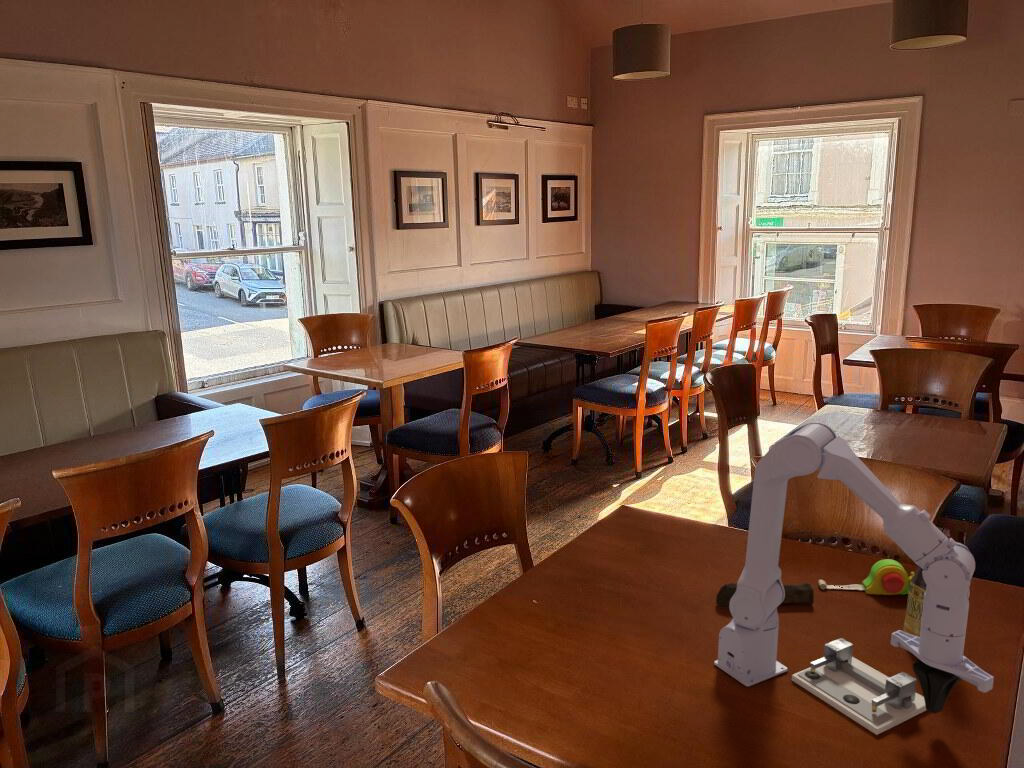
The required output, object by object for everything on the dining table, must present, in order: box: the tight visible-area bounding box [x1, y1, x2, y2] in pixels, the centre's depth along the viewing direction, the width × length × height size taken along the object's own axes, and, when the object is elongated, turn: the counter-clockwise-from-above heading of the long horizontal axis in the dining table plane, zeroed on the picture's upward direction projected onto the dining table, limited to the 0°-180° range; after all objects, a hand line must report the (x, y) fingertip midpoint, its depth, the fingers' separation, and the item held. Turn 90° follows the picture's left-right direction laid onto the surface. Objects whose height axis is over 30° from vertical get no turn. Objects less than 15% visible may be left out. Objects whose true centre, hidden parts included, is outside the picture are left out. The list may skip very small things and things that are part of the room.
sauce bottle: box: [902, 565, 927, 637], centre depth 137 cm, size 7×6×20 cm
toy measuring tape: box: [817, 558, 915, 596], centre depth 158 cm, size 6×19×7 cm, turn 81°
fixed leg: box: [809, 637, 854, 674], centre depth 130 cm, size 8×2×4 cm, turn 119°
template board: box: [791, 656, 927, 736], centre depth 125 cm, size 13×16×2 cm
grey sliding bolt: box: [871, 671, 918, 712], centre depth 120 cm, size 8×2×4 cm, turn 119°
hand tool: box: [715, 582, 815, 608], centre depth 154 cm, size 19×4×5 cm, turn 90°
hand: (934, 709), depth 116 cm, fingers closed
